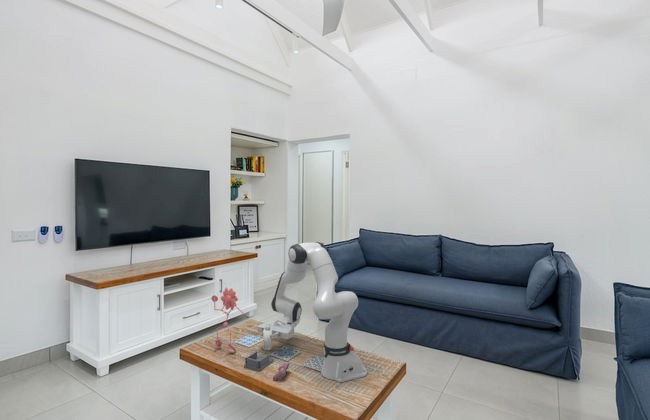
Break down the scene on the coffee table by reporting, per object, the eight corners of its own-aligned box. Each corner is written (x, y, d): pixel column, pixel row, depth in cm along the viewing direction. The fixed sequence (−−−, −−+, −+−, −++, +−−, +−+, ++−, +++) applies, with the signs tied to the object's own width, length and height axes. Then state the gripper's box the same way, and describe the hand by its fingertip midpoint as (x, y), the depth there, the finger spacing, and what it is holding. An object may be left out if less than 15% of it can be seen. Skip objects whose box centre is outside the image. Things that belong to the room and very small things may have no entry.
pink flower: (235, 360, 169) (237, 293, 170) (203, 348, 183) (204, 287, 183) (256, 350, 183) (257, 288, 183) (224, 339, 196) (225, 282, 196)
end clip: (258, 357, 173) (258, 348, 173) (273, 361, 169) (273, 352, 169) (243, 367, 163) (244, 358, 162) (259, 371, 158) (259, 362, 158)
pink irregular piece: (279, 385, 150) (286, 372, 149) (271, 379, 151) (278, 367, 150) (286, 374, 160) (292, 362, 159) (278, 369, 160) (284, 357, 160)
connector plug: (271, 345, 176) (271, 324, 175) (271, 349, 171) (272, 327, 171) (263, 346, 175) (263, 324, 174) (263, 350, 170) (263, 327, 170)
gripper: (266, 318, 189) (251, 326, 176) (296, 324, 180) (282, 333, 167) (266, 328, 189) (250, 337, 177) (296, 335, 180) (282, 345, 168)
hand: (266, 335), depth 172 cm, fingers closed on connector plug, 4 cm apart
